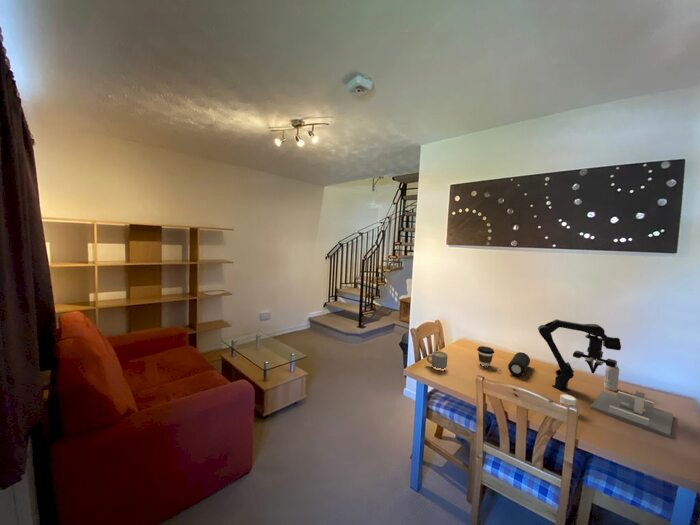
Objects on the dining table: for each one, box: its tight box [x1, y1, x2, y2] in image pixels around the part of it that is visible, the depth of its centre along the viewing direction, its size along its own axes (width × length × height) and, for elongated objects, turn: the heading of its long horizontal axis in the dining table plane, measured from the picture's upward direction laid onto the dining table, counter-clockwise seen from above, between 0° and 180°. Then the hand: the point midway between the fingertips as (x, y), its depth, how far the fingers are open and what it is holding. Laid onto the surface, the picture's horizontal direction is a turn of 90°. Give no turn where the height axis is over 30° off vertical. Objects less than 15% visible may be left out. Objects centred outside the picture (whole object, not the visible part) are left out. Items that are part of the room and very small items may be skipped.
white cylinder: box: [559, 393, 577, 407], centre depth 149 cm, size 7×7×7 cm
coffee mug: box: [426, 350, 448, 369], centre depth 196 cm, size 13×10×10 cm
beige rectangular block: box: [634, 390, 646, 414], centre depth 146 cm, size 3×5×9 cm, turn 129°
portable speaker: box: [507, 351, 531, 377], centre depth 195 cm, size 26×10×10 cm, turn 140°
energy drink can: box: [603, 364, 620, 392], centre depth 173 cm, size 6×6×15 cm
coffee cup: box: [477, 345, 495, 367], centre depth 202 cm, size 11×11×12 cm
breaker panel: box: [590, 390, 674, 439], centre depth 149 cm, size 28×27×4 cm
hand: (592, 373), depth 165 cm, fingers closed
